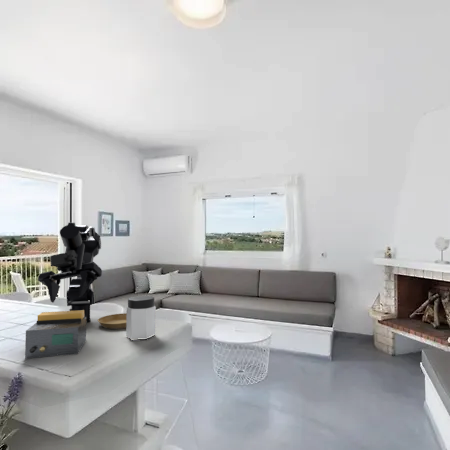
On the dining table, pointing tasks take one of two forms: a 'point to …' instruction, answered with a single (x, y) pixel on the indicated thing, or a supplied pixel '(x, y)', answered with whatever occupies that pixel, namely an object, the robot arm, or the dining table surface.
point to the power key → (61, 315)
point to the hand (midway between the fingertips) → (66, 299)
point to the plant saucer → (113, 321)
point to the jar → (140, 317)
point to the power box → (55, 337)
